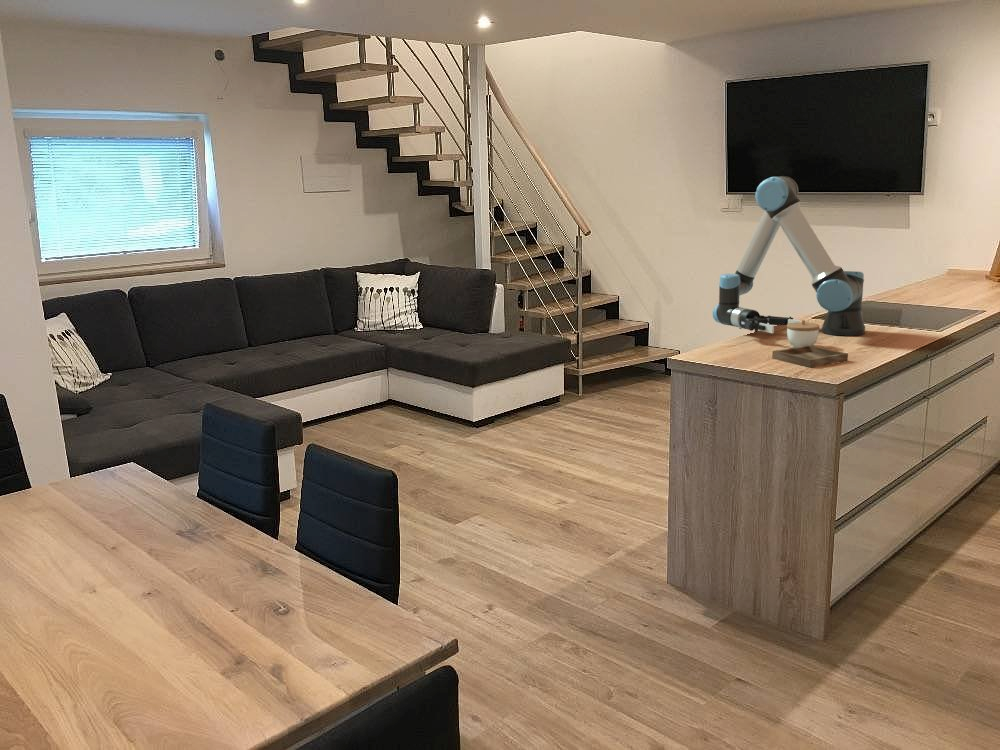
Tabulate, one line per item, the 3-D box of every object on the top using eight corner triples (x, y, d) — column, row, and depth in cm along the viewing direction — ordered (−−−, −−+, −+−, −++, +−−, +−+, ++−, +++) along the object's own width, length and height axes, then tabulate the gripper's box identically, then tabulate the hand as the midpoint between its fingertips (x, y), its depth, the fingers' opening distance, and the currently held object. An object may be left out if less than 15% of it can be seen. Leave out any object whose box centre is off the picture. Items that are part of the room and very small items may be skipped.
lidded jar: (820, 350, 299) (822, 323, 297) (787, 349, 301) (789, 323, 299) (815, 343, 309) (817, 317, 307) (784, 343, 311) (785, 317, 309)
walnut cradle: (808, 352, 296) (809, 345, 295) (847, 361, 282) (848, 353, 281) (772, 358, 289) (772, 350, 288) (810, 367, 275) (810, 360, 274)
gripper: (770, 325, 334) (813, 333, 315) (719, 332, 323) (760, 341, 305) (771, 305, 332) (814, 313, 314) (720, 312, 321) (761, 320, 303)
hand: (787, 327), depth 309 cm, fingers open, 13 cm apart
